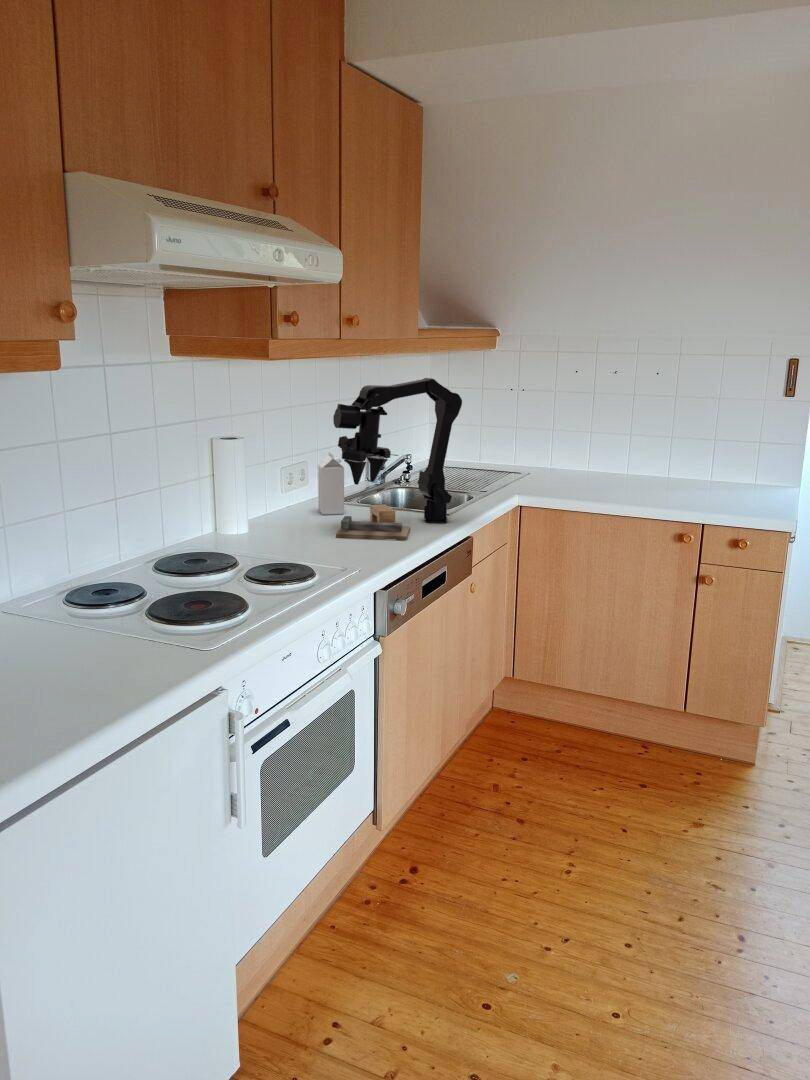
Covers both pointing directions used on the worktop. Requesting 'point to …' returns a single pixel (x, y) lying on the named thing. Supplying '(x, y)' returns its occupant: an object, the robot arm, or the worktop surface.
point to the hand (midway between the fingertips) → (364, 482)
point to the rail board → (375, 534)
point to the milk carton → (331, 486)
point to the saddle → (382, 514)
